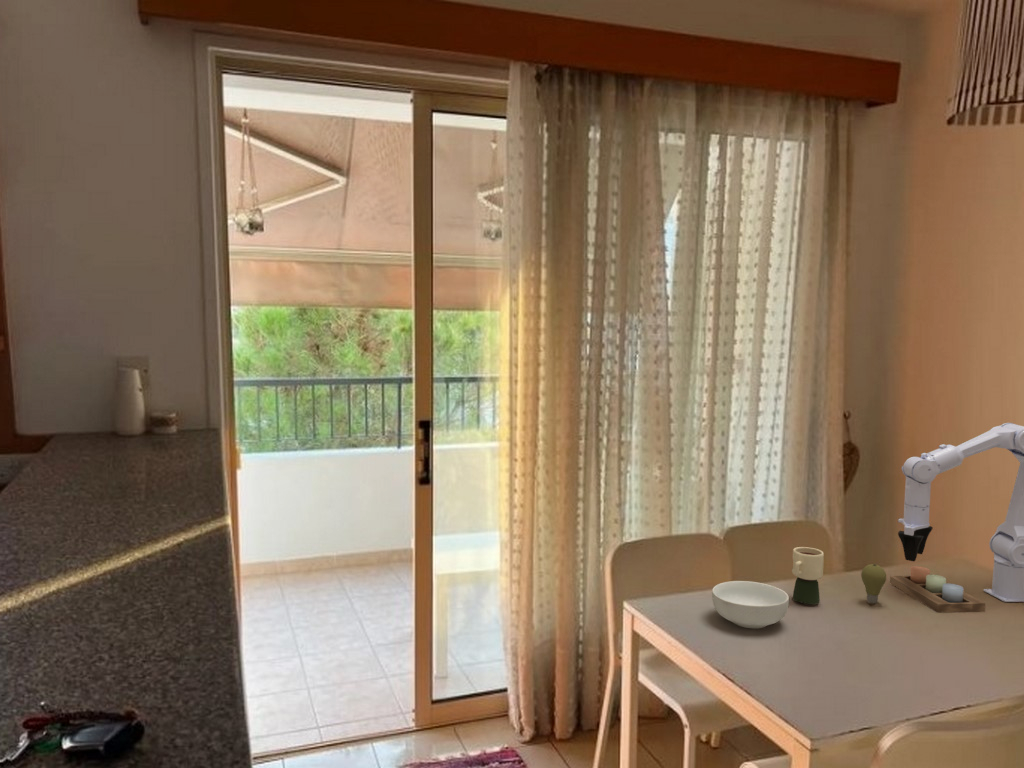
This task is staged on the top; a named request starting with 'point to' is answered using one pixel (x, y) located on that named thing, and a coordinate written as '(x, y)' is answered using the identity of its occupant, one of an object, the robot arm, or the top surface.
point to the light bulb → (873, 581)
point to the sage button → (935, 583)
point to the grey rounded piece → (952, 593)
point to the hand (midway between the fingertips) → (914, 556)
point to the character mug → (807, 574)
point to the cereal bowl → (750, 603)
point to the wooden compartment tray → (936, 597)
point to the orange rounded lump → (919, 574)
